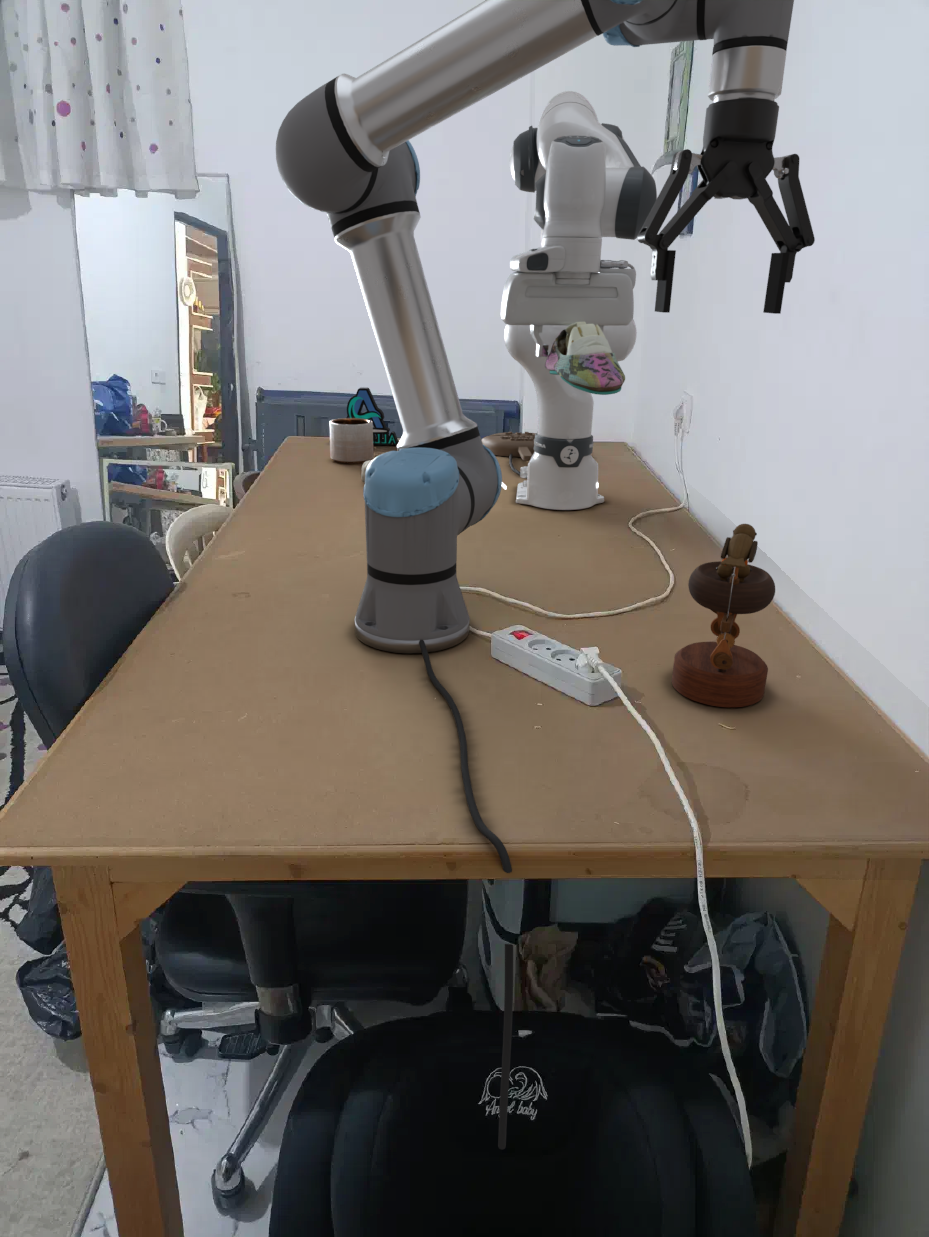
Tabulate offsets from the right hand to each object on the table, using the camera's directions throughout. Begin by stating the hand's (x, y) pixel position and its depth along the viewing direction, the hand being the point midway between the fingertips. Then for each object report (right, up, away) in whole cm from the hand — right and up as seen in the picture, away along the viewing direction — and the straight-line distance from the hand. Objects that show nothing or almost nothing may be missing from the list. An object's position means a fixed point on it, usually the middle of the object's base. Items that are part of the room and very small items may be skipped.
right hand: (564, 356), depth 131 cm
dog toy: (-29, -10, +61) cm, 68 cm away
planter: (-44, 0, +83) cm, 94 cm away
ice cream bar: (0, +2, +92) cm, 92 cm away
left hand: (+14, -5, -32) cm, 36 cm away
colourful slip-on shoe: (+1, -6, -7) cm, 10 cm away
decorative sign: (-43, +8, +103) cm, 112 cm away
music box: (+14, -48, -31) cm, 59 cm away
